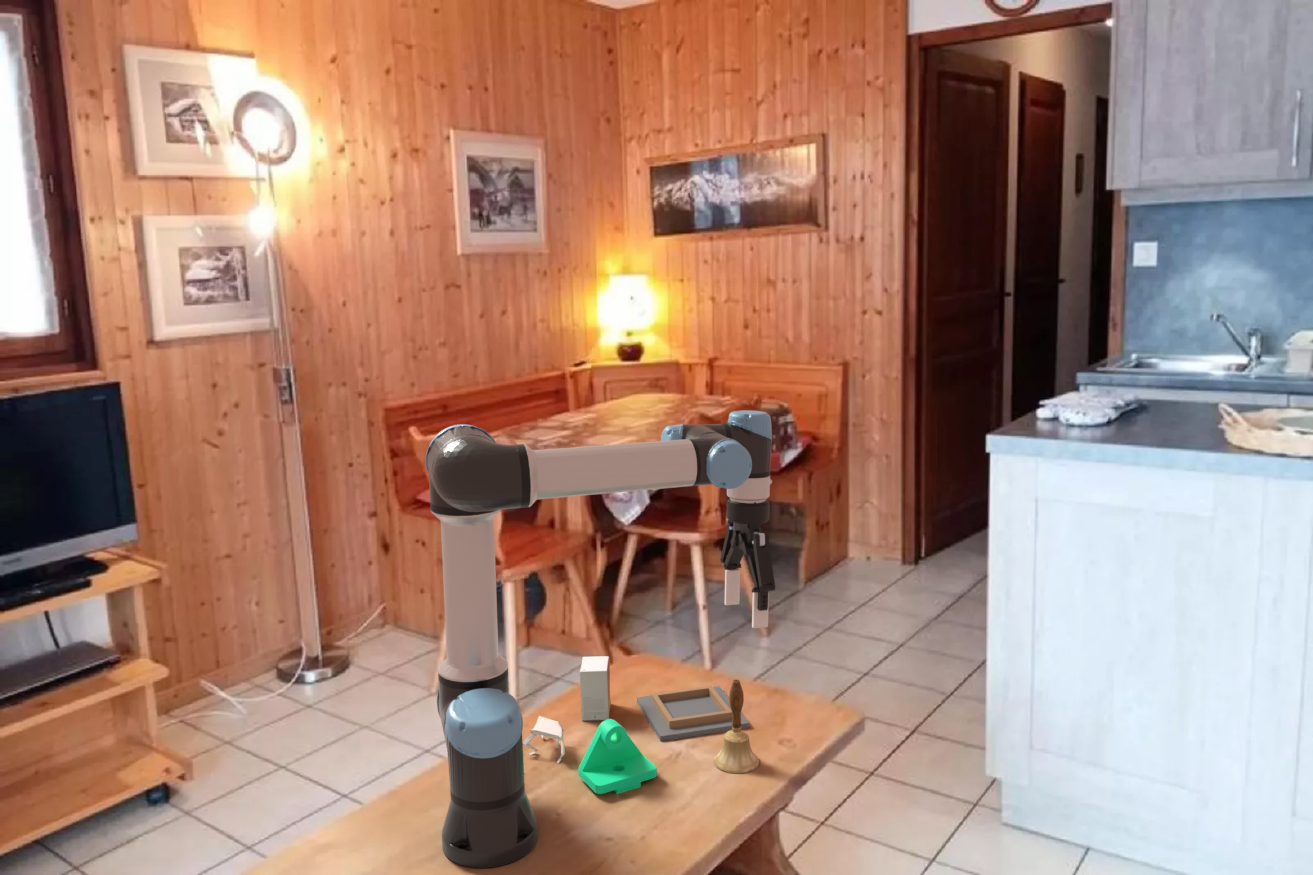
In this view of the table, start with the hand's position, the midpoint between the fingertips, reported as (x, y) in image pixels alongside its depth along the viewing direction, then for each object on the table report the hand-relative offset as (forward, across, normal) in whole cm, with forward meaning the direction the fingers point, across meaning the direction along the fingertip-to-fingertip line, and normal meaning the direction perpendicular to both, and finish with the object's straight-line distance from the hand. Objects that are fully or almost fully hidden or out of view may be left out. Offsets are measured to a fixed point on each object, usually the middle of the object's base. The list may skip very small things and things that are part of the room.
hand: (745, 615), depth 185 cm
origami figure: (+29, +15, +33) cm, 46 cm away
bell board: (+27, +21, +3) cm, 34 cm away
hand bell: (+28, 0, +1) cm, 28 cm away
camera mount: (+29, 0, +23) cm, 37 cm away
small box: (+28, +28, +20) cm, 45 cm away
